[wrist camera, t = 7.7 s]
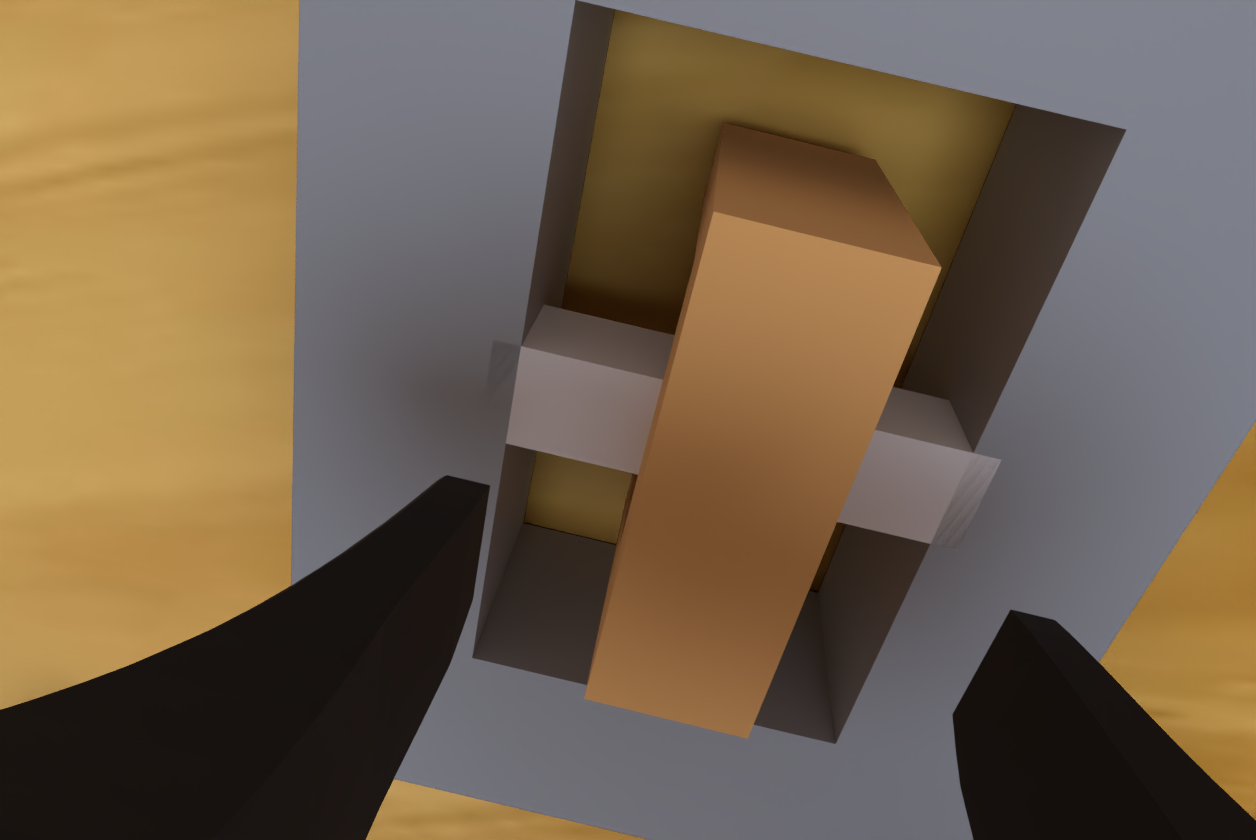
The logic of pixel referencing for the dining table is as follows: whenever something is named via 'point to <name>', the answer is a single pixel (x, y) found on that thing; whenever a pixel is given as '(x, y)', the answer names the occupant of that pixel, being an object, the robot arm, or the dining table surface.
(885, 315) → the toy arch block
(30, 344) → the dining table surface
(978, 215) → the grey rectangular frame
